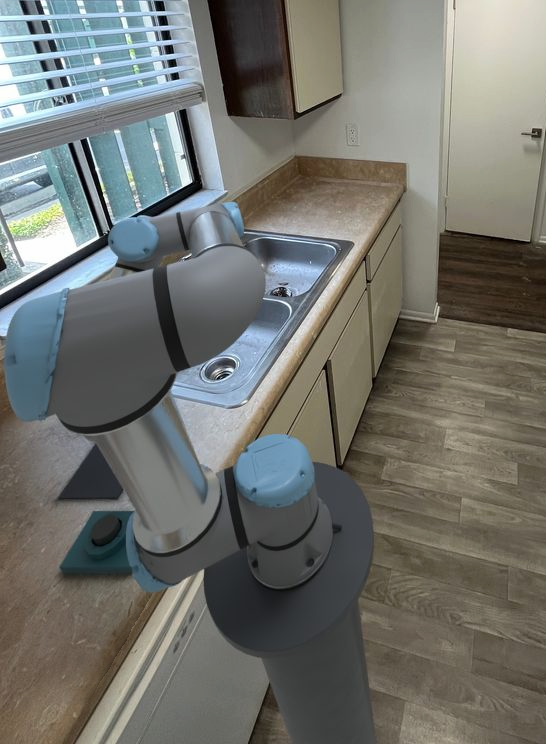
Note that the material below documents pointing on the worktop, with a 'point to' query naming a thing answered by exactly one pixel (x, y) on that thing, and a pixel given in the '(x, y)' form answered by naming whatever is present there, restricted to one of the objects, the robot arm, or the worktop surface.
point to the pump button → (105, 530)
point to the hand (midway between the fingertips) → (73, 417)
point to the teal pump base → (99, 550)
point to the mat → (93, 479)
